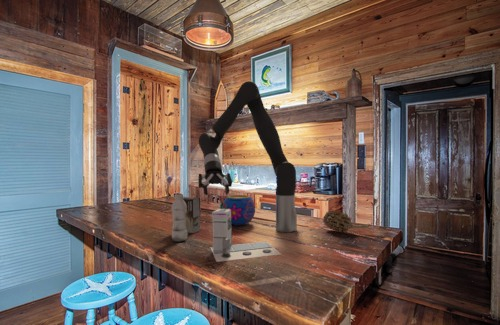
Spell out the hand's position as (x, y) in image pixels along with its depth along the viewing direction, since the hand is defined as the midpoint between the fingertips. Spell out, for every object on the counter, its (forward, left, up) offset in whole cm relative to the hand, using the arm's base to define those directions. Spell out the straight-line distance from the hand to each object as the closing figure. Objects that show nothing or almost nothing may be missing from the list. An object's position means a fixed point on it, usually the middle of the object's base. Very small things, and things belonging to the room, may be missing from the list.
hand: (217, 193), depth 108 cm
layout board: (-7, +15, -20) cm, 26 cm away
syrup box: (0, +11, -19) cm, 22 cm away
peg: (0, +19, -19) cm, 27 cm away
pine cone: (-60, +4, -21) cm, 63 cm away
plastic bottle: (+15, -7, -21) cm, 27 cm away
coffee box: (+10, -22, -21) cm, 32 cm away
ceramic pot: (-16, -27, -21) cm, 38 cm away
